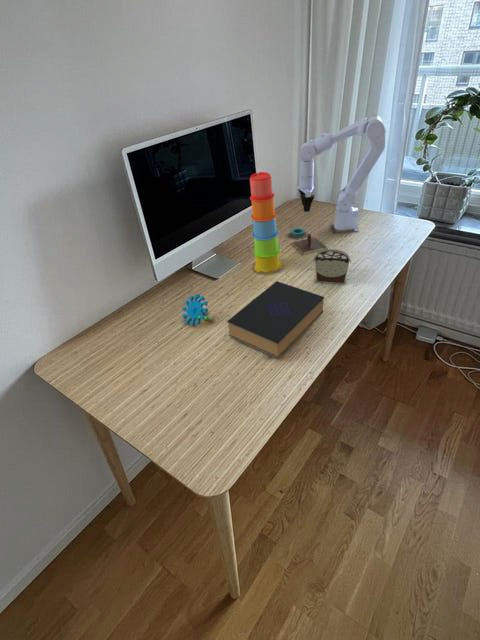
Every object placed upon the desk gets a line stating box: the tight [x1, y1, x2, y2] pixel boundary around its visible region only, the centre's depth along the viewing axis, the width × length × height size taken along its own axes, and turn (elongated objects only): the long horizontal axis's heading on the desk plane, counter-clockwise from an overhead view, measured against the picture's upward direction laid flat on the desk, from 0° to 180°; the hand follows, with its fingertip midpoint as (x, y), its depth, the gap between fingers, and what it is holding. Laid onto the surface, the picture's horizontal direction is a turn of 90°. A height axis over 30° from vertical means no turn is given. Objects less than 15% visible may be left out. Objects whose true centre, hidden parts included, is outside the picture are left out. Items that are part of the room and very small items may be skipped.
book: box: [226, 280, 325, 360], centre depth 113 cm, size 17×25×7 cm
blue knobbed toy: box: [181, 293, 213, 327], centre depth 120 cm, size 11×6×10 cm
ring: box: [290, 227, 306, 238], centre depth 162 cm, size 6×6×2 cm
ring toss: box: [292, 233, 327, 254], centre depth 153 cm, size 10×10×5 cm
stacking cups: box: [249, 171, 282, 275], centre depth 133 cm, size 10×10×35 cm
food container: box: [312, 248, 352, 285], centre depth 131 cm, size 12×6×10 cm, turn 74°
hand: (305, 207), depth 162 cm, fingers open, 7 cm apart
